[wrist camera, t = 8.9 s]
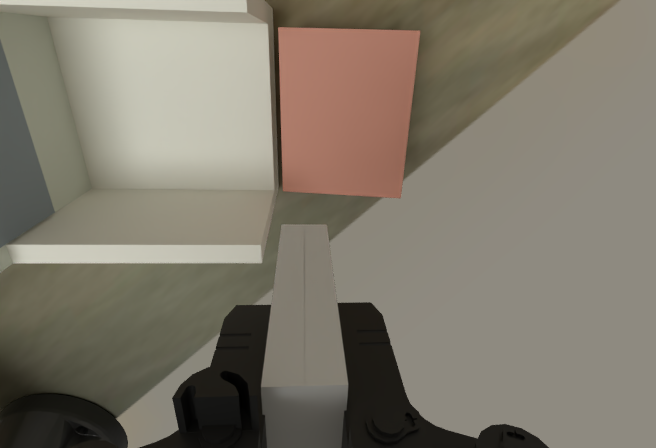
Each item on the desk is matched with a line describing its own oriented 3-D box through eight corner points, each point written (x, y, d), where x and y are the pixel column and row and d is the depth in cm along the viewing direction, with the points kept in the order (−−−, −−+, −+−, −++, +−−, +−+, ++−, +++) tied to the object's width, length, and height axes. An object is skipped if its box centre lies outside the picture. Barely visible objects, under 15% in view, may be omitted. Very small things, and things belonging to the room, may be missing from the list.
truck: (279, 201, 34) (259, 303, 21) (41, 200, 33) (-145, 306, 19) (271, -14, 27) (233, -76, 13) (-33, -25, 26) (-410, -105, 12)
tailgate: (286, 185, 30) (399, 192, 29) (282, 191, 29) (400, 198, 28) (282, 28, 25) (418, 31, 24) (278, 27, 24) (420, 30, 23)
